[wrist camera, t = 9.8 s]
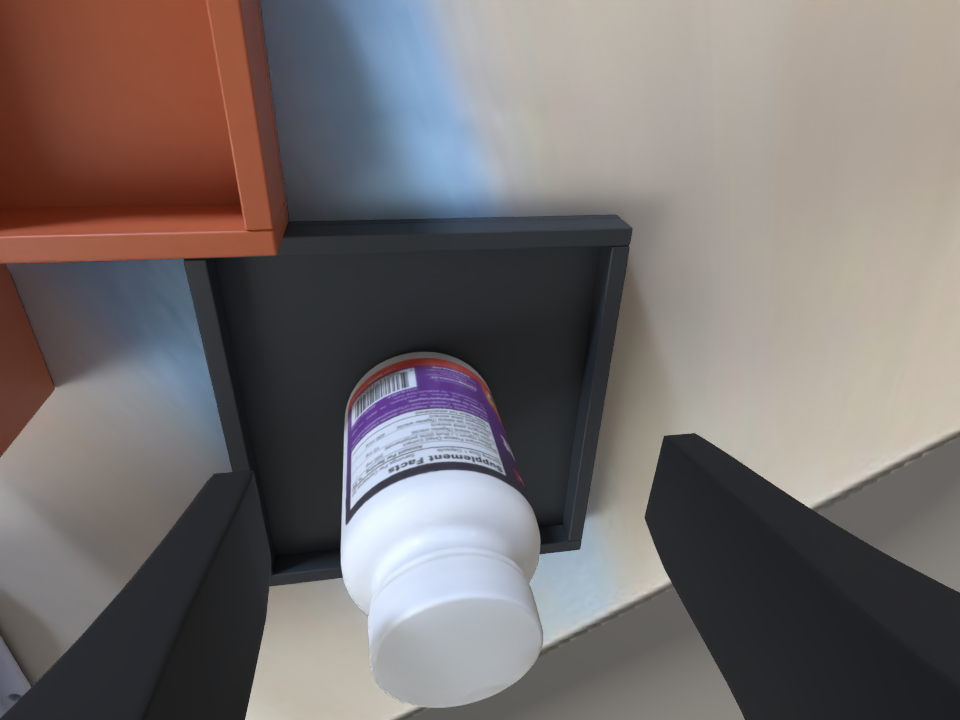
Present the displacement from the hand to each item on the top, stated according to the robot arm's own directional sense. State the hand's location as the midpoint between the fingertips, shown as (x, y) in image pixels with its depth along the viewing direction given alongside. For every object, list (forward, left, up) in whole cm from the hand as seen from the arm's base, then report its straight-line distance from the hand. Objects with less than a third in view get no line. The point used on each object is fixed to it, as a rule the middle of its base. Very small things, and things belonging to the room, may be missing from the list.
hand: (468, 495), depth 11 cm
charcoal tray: (-5, 0, -10) cm, 12 cm away
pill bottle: (-5, 0, -10) cm, 11 cm away
